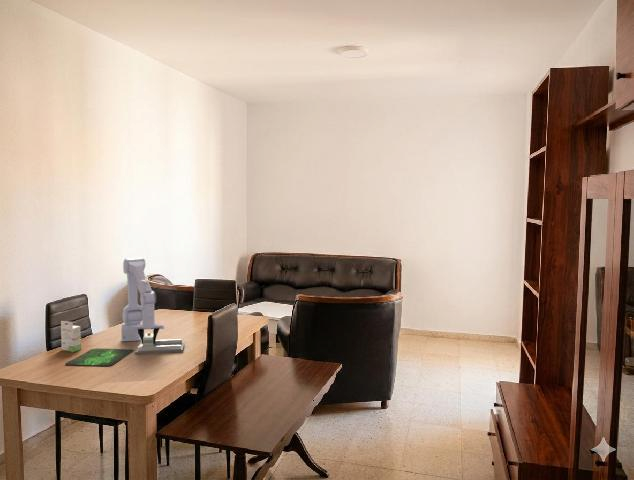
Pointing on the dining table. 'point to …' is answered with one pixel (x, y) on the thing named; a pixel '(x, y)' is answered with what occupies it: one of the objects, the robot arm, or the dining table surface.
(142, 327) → the robot arm
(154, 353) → the mounting board
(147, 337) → the module
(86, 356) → the mouse mat
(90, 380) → the dining table surface
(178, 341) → the rail
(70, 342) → the ink box
